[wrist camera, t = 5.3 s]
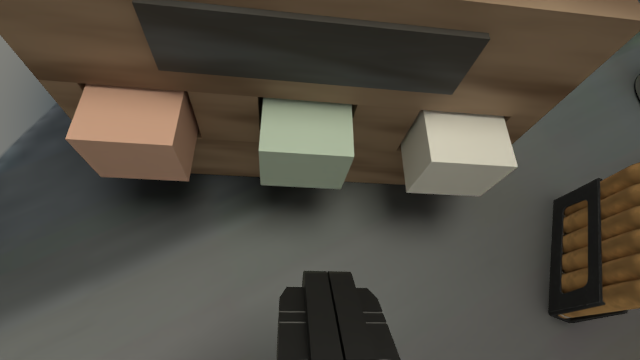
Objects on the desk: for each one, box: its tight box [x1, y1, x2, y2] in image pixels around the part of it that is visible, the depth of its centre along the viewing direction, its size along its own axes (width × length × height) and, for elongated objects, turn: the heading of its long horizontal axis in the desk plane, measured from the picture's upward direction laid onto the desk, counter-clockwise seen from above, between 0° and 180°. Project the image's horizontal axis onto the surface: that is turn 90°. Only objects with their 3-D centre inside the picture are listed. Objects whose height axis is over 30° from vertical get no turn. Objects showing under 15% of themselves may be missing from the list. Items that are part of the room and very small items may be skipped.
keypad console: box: [0, 0, 640, 185], centre depth 24 cm, size 7×30×18 cm, turn 90°
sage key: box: [259, 97, 354, 189], centre depth 23 cm, size 6×5×4 cm
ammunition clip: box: [548, 163, 640, 323], centre depth 25 cm, size 11×2×12 cm, turn 160°
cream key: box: [401, 110, 518, 196], centre depth 24 cm, size 6×5×4 cm
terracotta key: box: [65, 84, 199, 181], centre depth 22 cm, size 6×5×4 cm
